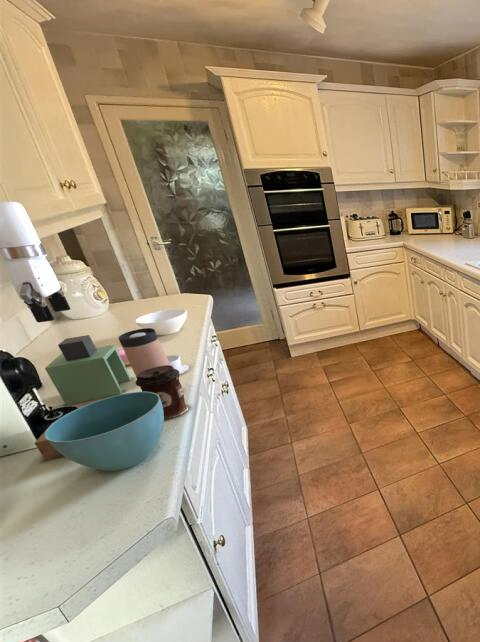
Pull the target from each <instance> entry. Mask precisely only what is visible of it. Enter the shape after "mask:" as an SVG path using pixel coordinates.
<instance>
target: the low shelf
mask: <svg viewBox="0 0 480 642" xmlns="http://www.w3.org/2000/svg"><path fill="white" fill-rule="evenodd" d="M54 422H55V421H53V422H51V424H53V423H54ZM47 429H48V427H47V428H46V429H45V431H46V430H47ZM45 431H43V433H41V435H40V436H39V437H38V438H37V440H35V442H34V445H35V446H36V448H37V450H38V451H39V453H40V454H41V456H42V457H43V459H44V460H45V461H49V460H53V459H57V458H61V457H65V456H64V455H62V454H61V453H60V452H58V451H57V450H56V449H55V448H54V447H53V446H52V445H51V444H50V443H49V442H48V441H47V440H46V438H45V436H44V434H45Z"/></svg>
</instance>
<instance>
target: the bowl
mask: <svg viewBox="0 0 480 642" xmlns="http://www.w3.org/2000/svg"><path fill="white" fill-rule="evenodd" d="M187 318H188V312H187V310H186V309H183V308H172V309H163V310H158V311H154V312H151V313H148V314H144V315H142V316H140V317H138V318H136V319H135V324H136V325H137V326H138V327H139V328H140V329H145V328H152V329H154V330H155V332H156V334H157V336H167V335H171V334H175V333H177V332H179V331H180V330H181V328H182V326H183V325H184V323H185V322H186V320H187Z"/></svg>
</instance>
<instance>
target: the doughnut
mask: <svg viewBox="0 0 480 642" xmlns="http://www.w3.org/2000/svg"><path fill="white" fill-rule="evenodd" d="M117 350H118V352H119V354H120V356H121V359H122V361H123V363H124V365H125V366H131V365H130V363H129V360H128V358H127V356H126V354H125V352H124V349H123V348H121V349H117Z"/></svg>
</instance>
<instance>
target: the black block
mask: <svg viewBox="0 0 480 642" xmlns="http://www.w3.org/2000/svg"><path fill="white" fill-rule="evenodd" d="M57 346H58V348H59V350H60V352H61V354H63V355H64V357H65V359H66V361H70V360H75V359H81V358H87V357H91V356H92V355H93V354H94V353H95V352H96V351H97V349H96V348H97V347H96V345H95V344H94V342H93V339H92V338H91V335H90V334H86V335H80V336H74V337H67V338H64V340H62V341H61V342H59V344H58V345H57Z"/></svg>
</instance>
